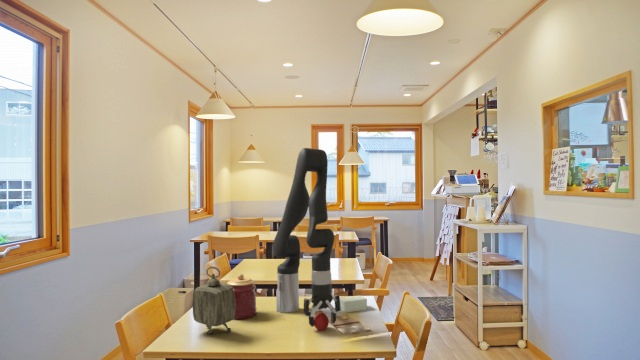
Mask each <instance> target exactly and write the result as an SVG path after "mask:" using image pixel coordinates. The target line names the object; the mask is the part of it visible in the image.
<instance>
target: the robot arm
mask: <svg viewBox="0 0 640 360" xmlns="http://www.w3.org/2000/svg"><path fill="white" fill-rule="evenodd" d="M328 163H329V162H328V155H327V153H326V151H325V150H323V149H319V148H310V147H304V148H302V149H301V150H300V151H299V153H298V156H297V159H296V166H295V169H294V175H293V180H292V185H291V187H290V188H291V189H290V191H289V194H288V197H287V201H286V205H285V207H284V211H283V212H284V213H283V215H282V218H281V221H280V225H279V228H278V229H277V232H276V235H275V236H274V240H273V243H272V253H273V254H274V256H275V257H276V258H279V259H280V258H282V259H284V258H285V260H284V261H283V262H282V263H280V264H279V265H277V271H276V273H277V276H276V277H277V289H275V292H276V295H275V296H276V298H275V299H276V312H277V313H278V312H279V313H280V314H281V313H282V314H283V313H286V314H287V313H288V314H290V313H296V312H298V311H299V310H300V298H299V296H300V295H299V294H300V292H299V291H300V290H299V289H300V287H299V283H300V282H299V281H300V278H299V267H300V264H301V263H300V261H301V260H300V258H301V243H300V239H299V237H298V236H297V235H293V234H292V233H293V231H294V230H295V229H296V227H298V225H299V224H300V223H301V222H302V221H303V220H304V218H305V217H306V215H307V213H308V214H309V215H308V216H309V219H308V220H309V223H308V228H307V229H308V230H307V233H306V244H307V246H308V247H309V248H311V249H319V248H320V249H321V248H323V249H322V250H321V252H318V253H315V254H313V255H312V256H311V298H306V297H305V298H304V299H303V315H305V316H306V317H308V325H309V326H310V327H314V328H315V326H314V318H315V316H314V315H315V314H316V312H317V311H318V310H319V311H321V310H323V309H326V310H327V309H328V310H329V311H330V317H331V322H332V323H335V321H336V316H337V312H341V311H342V310H341V308H340V298H341V296H340V295H338V294H337V293H336V294H334V295H333V294H332V293H333V292H332V288H333V287H332V272H331V271H332V270H331V255H332V250H333V247H334V243H335V233H334V231H333V230H332V229H331V228H316V227H317V226H318V225H320V224H324V223H326V222H327V221H328V219H329V217H328V207H327V184H328ZM308 172H312V173H316V183H315V185H314V187H313V190H312V192H311V194H310V195H309V192H308V191H309V190H308V188H307V186H306V175H307V173H308ZM291 234H292V235H291ZM332 301H334V306H333V305H332ZM311 303H312V305H311ZM310 305H311V307H310Z"/></svg>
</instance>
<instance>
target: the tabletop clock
mask: <svg viewBox="0 0 640 360" xmlns="http://www.w3.org/2000/svg"><path fill="white" fill-rule="evenodd" d="M211 269H212V270H213V269H214V270H216V271H217V272H218V275H216V274H215V273H212V274H211V275H210V274H209V273H208V271H209V270H211ZM205 271H206V275H207V277H210V278H209V279H208V280H207V281H206V284H205V285H201V286H198V287H196V288H195V289H194V290H193V293H192V317H193V321H195V322H196V323H199V324H201V325H205V326H206V327H207V328H208V330H207V334H208V335H211V334H212V333H213V330H212V327H219V326H221V325H222V326H224V327H225V328H226V332H227V333H231V331H232V328H230V327H228V325H227V323H229V322H231V321H233V320H235V319H234V316H235V293H234V289H233V287H231V286H230V285H228V284H227V283H222V282H221V281H220V280H219V279H218V278H219V277H220V275H221V271H220V270H219V268H217V267H216V266H209V267H207V269H206V270H205Z"/></svg>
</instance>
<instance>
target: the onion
mask: <svg viewBox="0 0 640 360" xmlns="http://www.w3.org/2000/svg"><path fill="white" fill-rule="evenodd" d="M328 317H329V316H327V314H326V313H324V312H323V311H322V310H319V311H318V313H317V314H316V315H315V316H314V328H315V329H317V330H318V331H325V330H326V329H327V328H328V327H329V325H330V323H329V320H328Z"/></svg>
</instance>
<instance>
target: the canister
mask: <svg viewBox="0 0 640 360" xmlns="http://www.w3.org/2000/svg"><path fill="white" fill-rule="evenodd" d="M254 283H255V280H254V279H252V278H250V277H247V276H244V274H243V273H239V274H238V275H237V277H233V278H231V279H230V280H228V282H226V284H227V285H230V286H231V287H233V289H234V293H235V316H234V319H233V320H244V319H249V318H253V317H254V316H256V314H257V299H256V298H257V293H256V288H257V286H256V285H255V284H254Z"/></svg>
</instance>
